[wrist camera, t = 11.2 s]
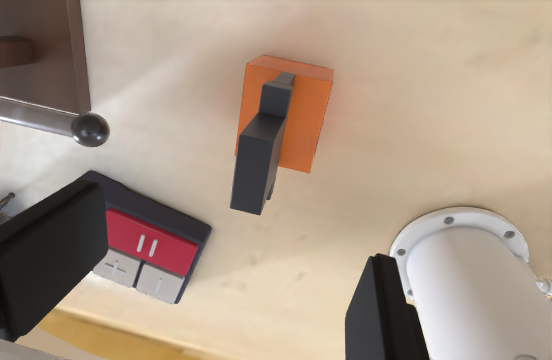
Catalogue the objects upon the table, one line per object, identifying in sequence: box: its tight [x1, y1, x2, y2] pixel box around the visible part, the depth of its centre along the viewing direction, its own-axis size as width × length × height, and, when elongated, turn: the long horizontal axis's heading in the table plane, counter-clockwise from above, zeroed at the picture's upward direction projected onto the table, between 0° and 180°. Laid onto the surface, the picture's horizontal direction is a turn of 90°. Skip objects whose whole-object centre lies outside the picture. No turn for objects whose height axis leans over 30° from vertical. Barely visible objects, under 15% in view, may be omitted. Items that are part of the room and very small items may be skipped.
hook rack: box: [0, 0, 110, 147], centre depth 22 cm, size 21×10×18 cm, turn 80°
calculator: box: [78, 171, 212, 304], centre depth 37 cm, size 11×4×15 cm
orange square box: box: [230, 55, 333, 215], centre depth 22 cm, size 6×7×15 cm
